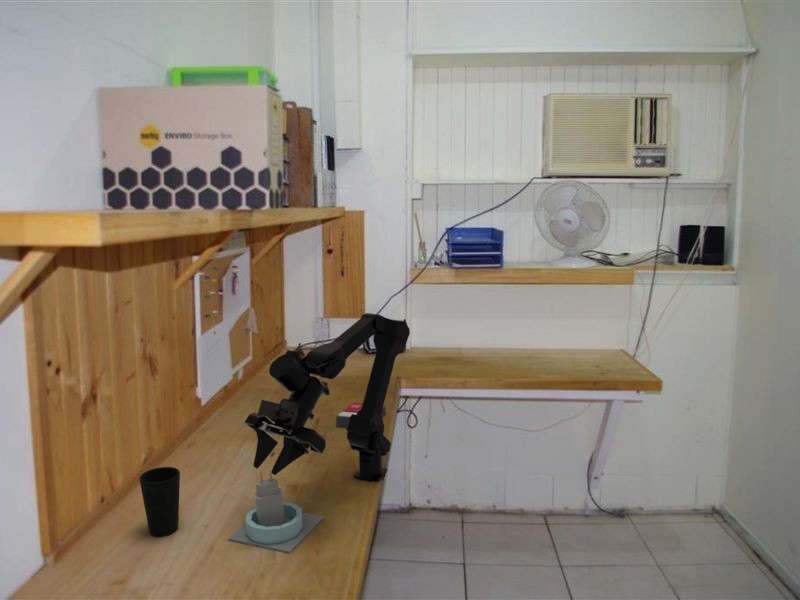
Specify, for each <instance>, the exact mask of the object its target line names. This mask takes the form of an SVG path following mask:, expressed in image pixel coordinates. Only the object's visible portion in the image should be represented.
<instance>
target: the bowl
mask: <svg viewBox="0 0 800 600" xmlns="http://www.w3.org/2000/svg"><path fill="white" fill-rule="evenodd" d="M283 504H284V513H285V522H286V523H285V524H283V525H280V526H270V527H266V526H261V525H257V517H256V508H255V507H254V508H252V509H251V510H250V511H248V512H247V513H246V516H245V517H246V518H245V524H246V534H247V535H248V537H249V539H250V540H252V541H254V542H256V543H260V544H279V543H283V542H286V541H289V540H291V539H293V538H295V537H296V536H297V535H299V534H300V532H301V530H302V513H303V509H302V508H301V507H300V506H298V504H295V503H294V502H293V503H291V502H287V501H283Z"/></svg>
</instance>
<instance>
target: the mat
mask: <svg viewBox="0 0 800 600" xmlns="http://www.w3.org/2000/svg"><path fill="white" fill-rule="evenodd" d="M324 518H325V517H324V516H321V515H315V514H311V513H305V512H302V530H301V532H300V534H299V535H297V536H296V537H295V538H293V539H291V540H289V541H286V542H283V543H279V544H260V543H256V542H254V541H252V540H250V539H249V537H248V535H247V534H246V523H245V524H244V525H242V526H241V527H240V528H238V530H237V531H235V532H234V533H233V534H231V536H229V537H228V542H234V543H238V544H243V545H249V546H251V547H252V546H253V547H258V548H262V549H267V550H272V551H276V552H280V553H281V552H282V553H286V554H291V553H292V552H294V550H296V549H297V547H298V546H299V545H300V544H301V543H302V542H303V541H304V540H305V539H306V538H307V537H308V536H309V535H310V533H312V532H313V530H314V529H316V527H317V526H318V525H319V524H321V522H322V521H324Z"/></svg>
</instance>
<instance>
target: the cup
mask: <svg viewBox="0 0 800 600" xmlns="http://www.w3.org/2000/svg"><path fill="white" fill-rule="evenodd" d="M180 471H181V470H179V469H178V468H176V467H174V466H161V467H160V466H159V467H155V468H153V469H149V470H147V471H145V472H143V473H142V474H141V475H140V476H139V485H140V490H141V494H142V500H143V506H144V511H145V516H146V521H147V526H148V532H149V533H148V534H149V535H150V536H152V537H154V538H162V537H168V536H170V535H172V533H173V534H174V533H176V532H177V531H178V530H179V519H180V518H179V517H180V516H179V515H180V483H181V479H180V478H181V472H180Z"/></svg>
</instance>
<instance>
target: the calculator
mask: <svg viewBox="0 0 800 600" xmlns="http://www.w3.org/2000/svg"><path fill="white" fill-rule="evenodd" d="M362 404H363V402H357V401H353V403H351V404H350V405H349V406H347V407H346V408H344V409H343V410H342V411H341V412H340V413H338V414H337V415H336V416H335V419H336V421H335V426H336V428H338V429H339V428H340V429H347V427H348V425H349V421H350V416H351V415H352V414H355V415H356V414H357V413H358V412H359V411H360V410H361V408H362ZM385 415H386V405H383V409H382V413H381V416H382V419H383V418H384V416H385Z"/></svg>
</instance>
